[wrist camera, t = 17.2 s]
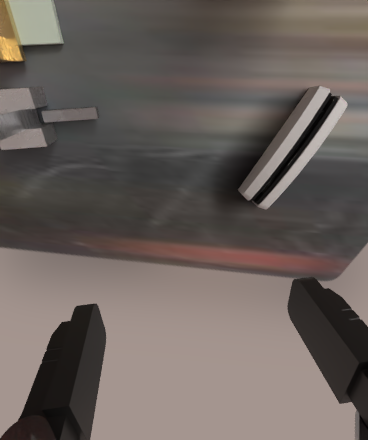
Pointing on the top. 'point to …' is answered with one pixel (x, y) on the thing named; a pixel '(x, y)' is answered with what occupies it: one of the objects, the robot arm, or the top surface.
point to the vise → (32, 118)
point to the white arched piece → (293, 146)
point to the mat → (36, 22)
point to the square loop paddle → (9, 36)
